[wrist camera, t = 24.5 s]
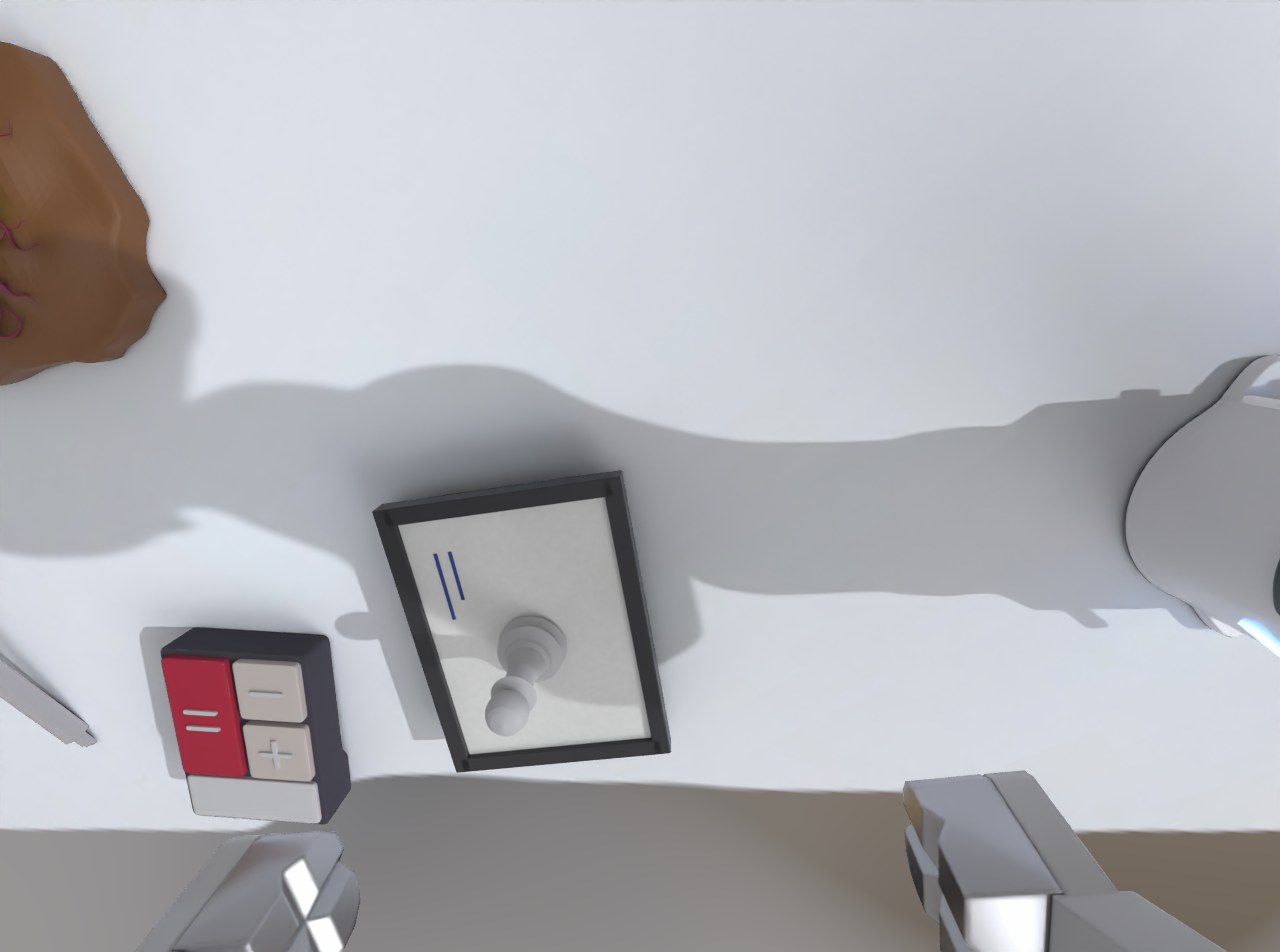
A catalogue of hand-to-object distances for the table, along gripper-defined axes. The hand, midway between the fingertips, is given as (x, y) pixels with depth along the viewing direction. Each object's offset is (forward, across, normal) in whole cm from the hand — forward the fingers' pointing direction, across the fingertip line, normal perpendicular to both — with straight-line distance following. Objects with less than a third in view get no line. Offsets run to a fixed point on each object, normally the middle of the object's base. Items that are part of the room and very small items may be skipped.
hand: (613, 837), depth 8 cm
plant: (+31, +39, -18) cm, 53 cm away
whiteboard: (+31, +11, +14) cm, 36 cm away
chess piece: (+28, +11, +14) cm, 34 cm away
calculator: (+31, +34, +20) cm, 51 cm away
